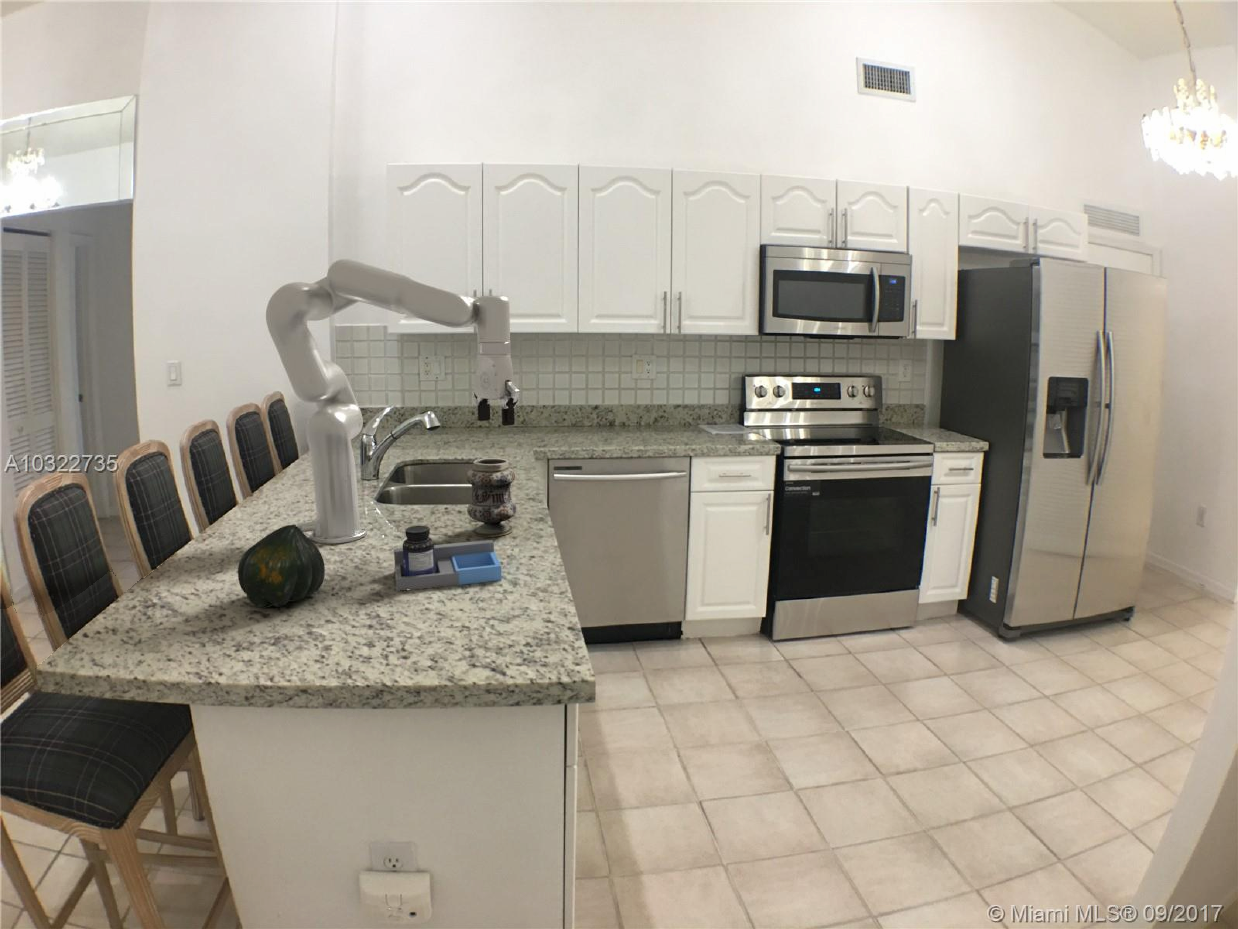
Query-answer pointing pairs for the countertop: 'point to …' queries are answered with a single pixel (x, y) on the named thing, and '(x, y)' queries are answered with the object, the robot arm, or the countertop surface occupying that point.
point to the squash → (281, 568)
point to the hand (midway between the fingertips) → (496, 422)
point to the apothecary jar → (491, 496)
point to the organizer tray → (453, 566)
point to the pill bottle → (418, 551)
